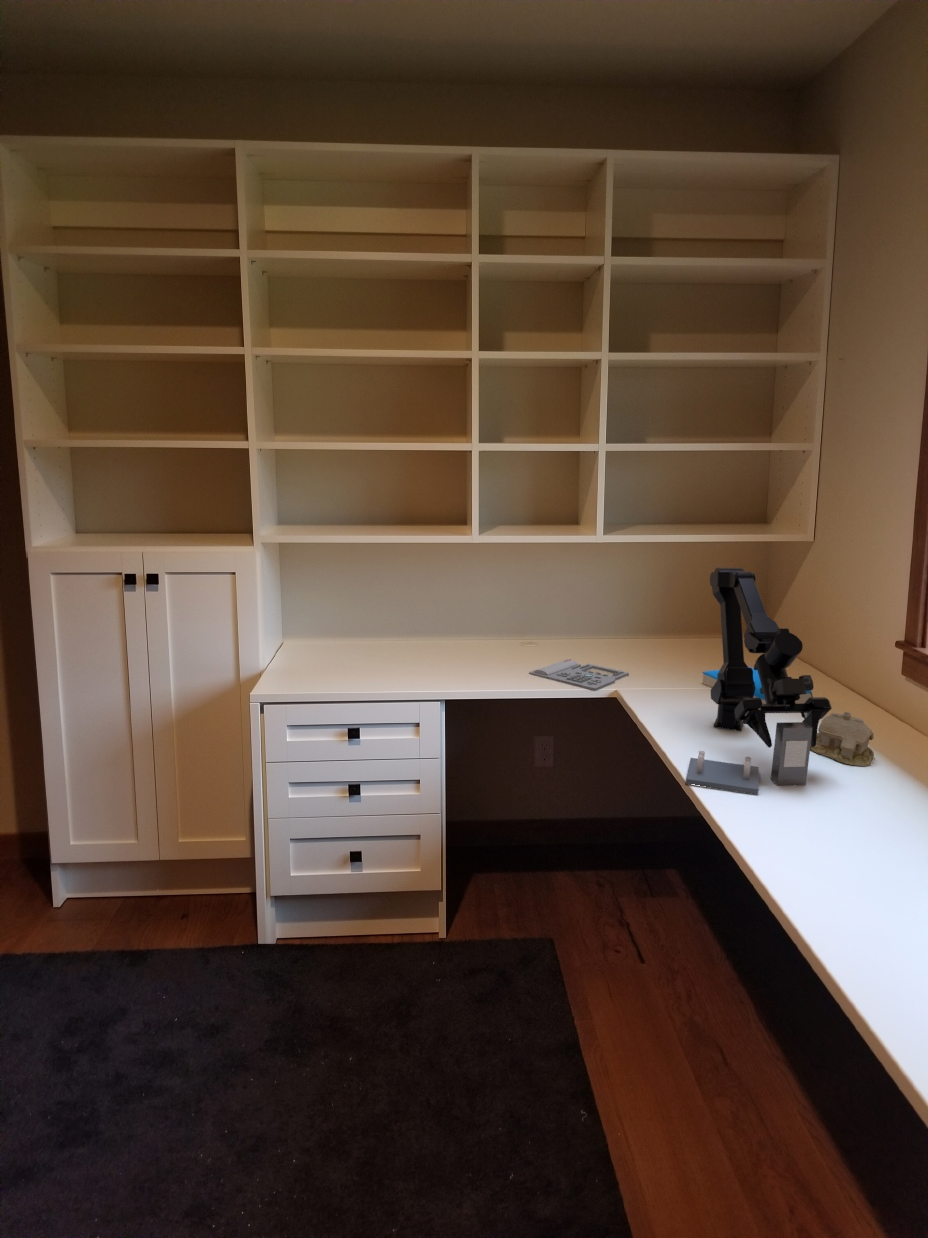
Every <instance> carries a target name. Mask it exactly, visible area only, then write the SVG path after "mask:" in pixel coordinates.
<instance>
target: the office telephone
mask: <svg viewBox="0 0 928 1238" xmlns="http://www.w3.org/2000/svg"><path fill="white" fill-rule="evenodd" d="M592 669H594V670H595V669H596V670H598V671H602V672H603V671H604V672H607V673H612V675H608V674H605V673H603V674H602V673H600V672H594V671H591V670H592ZM528 674H529V675H532V676H535V677H539V678H543V679H547V680H551V681H555V682H559V683H562V684H566V685H569V686H570V685H571V686H574V687H579V688H582V689H584V690H589V691H593V692H597V691H599V690H601V689H603V688H606V687H608V686H611V685H613V684H615V683H616V681H618V680H622V678H625V677H629V676H630V672H629V671H624V670H621V669H616V668H611V667H605V666H601V665H598V664H592V663H587V664H585V665H582V664H580V663H578V662H577V661H575V660H574V659H564V660H562V661H561V660H560V661H558V662H555V663H552V664H550V665H547V666H543V667H540V668H538V669H534V670H532V671H529V673H528Z"/></svg>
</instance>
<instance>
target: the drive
mask: <svg viewBox="0 0 928 1238" xmlns="http://www.w3.org/2000/svg"><path fill="white" fill-rule="evenodd" d="M774 735H775V736H774V746H773V755H772V764H771V774H770V780H771V781H772V782H773V783H774V784H775V785H776V786H778V787H781V786H782V787H787V786H794V785H796V786H797V787H798V786H807V777H808V770H809V763H810V762H809V760H810V753H811V749H810V745H811V736H812V727H811V726H809V725H808V724H807V723H805V722H796V721H795V722H792V721H791V722H790V721H789V722H785V721H784V722H776V726H775V734H774Z"/></svg>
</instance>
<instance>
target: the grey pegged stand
mask: <svg viewBox="0 0 928 1238" xmlns="http://www.w3.org/2000/svg"><path fill="white" fill-rule="evenodd" d="M705 753H706V752H705V751H704V750H699V751H698V756H697V758H695V757H690V759H689V764H688V768H687V773H686V777H685V778H686V779H685V785H688V786H692V785H691V784H695V785H700V786H706V787H705V788H707V787H711V788H710V789H714V788H717V789H716V790H721V789H723V790H722V791H727V790H730V791H729V792H734V791H737V792H736V793H741V792H745V793H744V794H748V793H752V794H751V795H755V794H758V795H759V787H760V786H759V779H760V778H759V776H760V775H759V773H760V772H759V771H760V769H759V766H754V765H751V764H752V761H751V760H752V758H751V757H750V756H744V764H741V763H740V764H739V763H732V762H726V761H720V760H719V761H718V760H712V759H705ZM700 786H699V787H700Z"/></svg>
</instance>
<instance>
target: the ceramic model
mask: <svg viewBox="0 0 928 1238" xmlns="http://www.w3.org/2000/svg"><path fill="white" fill-rule="evenodd" d="M851 715H852V714H851V713H850V712H848V711H845V712H843V713H842V714H841V713H837V712H831V713H830V714H829V715H825V716H824V717H823V718H822V719H821V720H822V721H821V722H820V724H819V725H818V729H817V738H816V746H815V747H812V746H811V745H810V751H812V752H814V753H817V755H822V756H825V757H828V758H830V759H833V760H835V761H837V762H839V763H843V764H846V765H850V766H857V767H858V766H860V767H861V766H862V767H868V766H871V765H872V764H873V763H872V760H873V759H874V756H875V753H874V750H873V749H872V748H871V747H869V744H870V743H869V742H870V741H872V740H874V732H873V730H872V729H871V728H870V727H869V726H868V725H867V724H866V723H865V722H864V720H863V719H861V718H859V717H854V716H851Z"/></svg>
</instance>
